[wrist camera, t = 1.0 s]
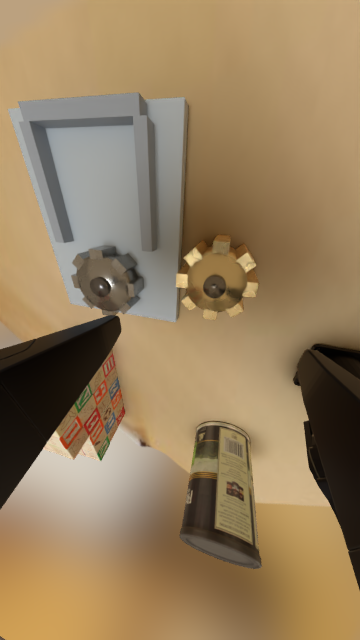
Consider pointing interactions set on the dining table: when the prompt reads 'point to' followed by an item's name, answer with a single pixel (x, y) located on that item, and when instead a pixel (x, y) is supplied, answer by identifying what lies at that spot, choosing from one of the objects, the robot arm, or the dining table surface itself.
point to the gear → (107, 279)
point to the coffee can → (222, 497)
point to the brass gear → (217, 277)
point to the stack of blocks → (91, 417)
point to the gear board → (111, 184)
